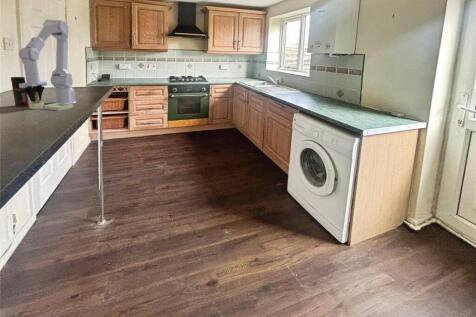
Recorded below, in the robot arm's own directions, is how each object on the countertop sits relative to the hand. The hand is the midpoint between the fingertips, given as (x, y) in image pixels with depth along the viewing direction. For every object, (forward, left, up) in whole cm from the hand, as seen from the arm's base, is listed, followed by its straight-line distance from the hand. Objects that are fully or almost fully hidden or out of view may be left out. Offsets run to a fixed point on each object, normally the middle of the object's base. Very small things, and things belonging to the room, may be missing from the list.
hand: (36, 101), depth 165 cm
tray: (-5, +9, -4) cm, 11 cm away
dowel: (0, 0, -3) cm, 3 cm away
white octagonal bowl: (0, 0, -4) cm, 4 cm away
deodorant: (-1, -10, -4) cm, 11 cm away
